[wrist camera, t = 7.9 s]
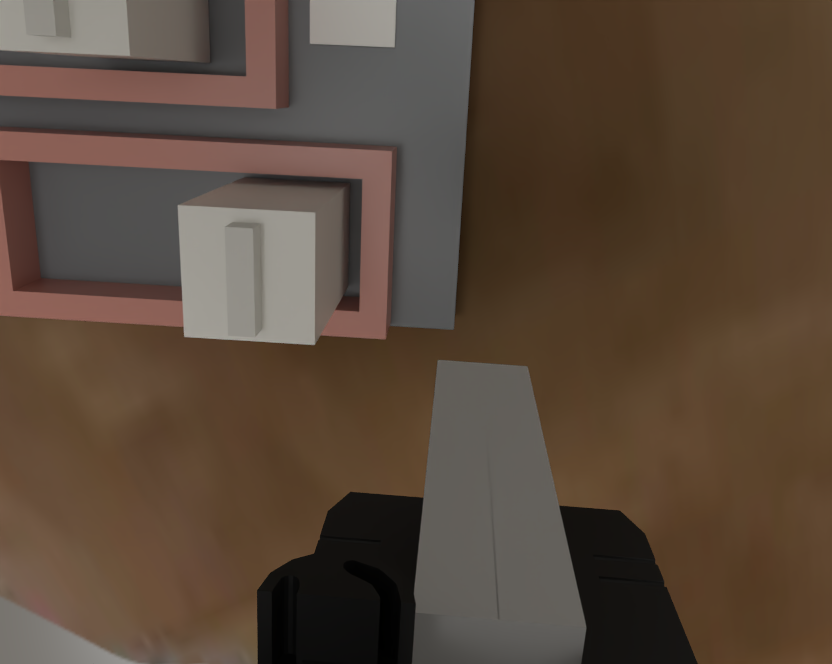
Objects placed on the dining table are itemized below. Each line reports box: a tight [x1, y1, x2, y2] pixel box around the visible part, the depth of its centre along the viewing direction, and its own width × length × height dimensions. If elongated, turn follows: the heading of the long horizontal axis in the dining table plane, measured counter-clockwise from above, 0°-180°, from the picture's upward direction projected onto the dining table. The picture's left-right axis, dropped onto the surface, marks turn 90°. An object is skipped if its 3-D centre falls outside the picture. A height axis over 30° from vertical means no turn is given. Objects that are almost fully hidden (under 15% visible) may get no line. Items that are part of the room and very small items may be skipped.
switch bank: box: [0, 0, 475, 339], centre depth 28 cm, size 15×24×4 cm, turn 87°
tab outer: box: [178, 177, 350, 345], centre depth 26 cm, size 4×4×8 cm
